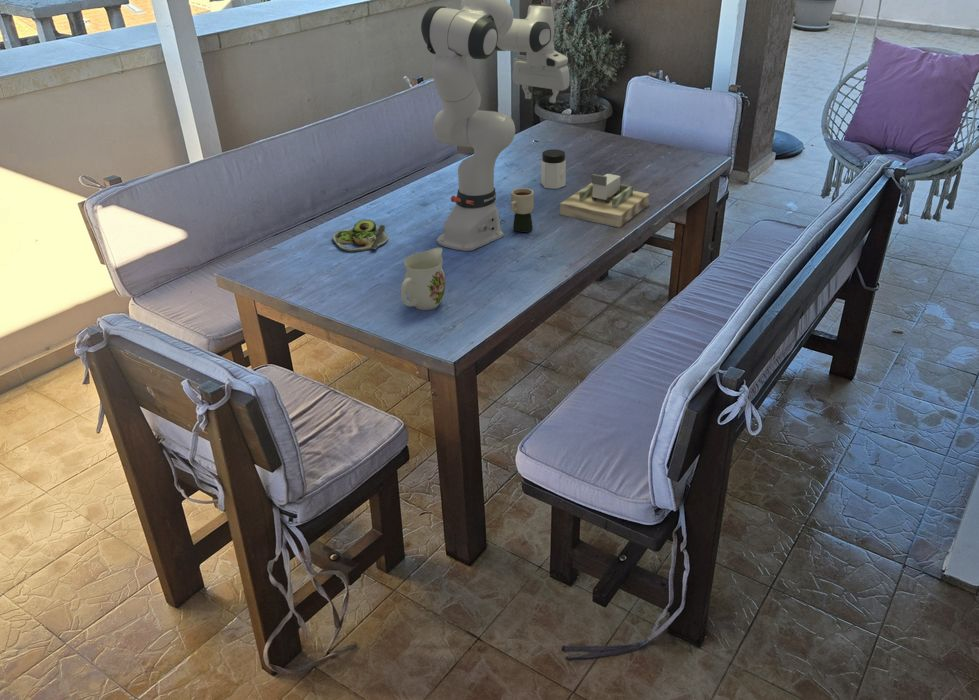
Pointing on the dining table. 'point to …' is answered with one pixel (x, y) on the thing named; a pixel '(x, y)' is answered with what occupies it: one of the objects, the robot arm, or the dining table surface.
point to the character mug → (522, 208)
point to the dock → (605, 206)
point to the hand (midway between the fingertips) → (540, 100)
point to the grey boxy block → (605, 186)
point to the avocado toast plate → (361, 236)
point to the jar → (553, 169)
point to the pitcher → (424, 280)
